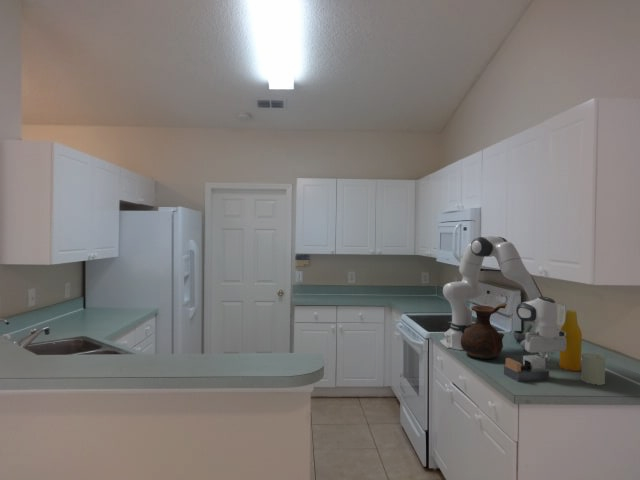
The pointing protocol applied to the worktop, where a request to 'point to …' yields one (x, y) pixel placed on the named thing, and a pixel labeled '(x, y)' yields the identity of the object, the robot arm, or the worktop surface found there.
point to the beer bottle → (571, 343)
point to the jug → (483, 334)
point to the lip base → (523, 371)
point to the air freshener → (524, 341)
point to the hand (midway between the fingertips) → (545, 360)
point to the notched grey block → (534, 362)
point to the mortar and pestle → (521, 334)
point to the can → (593, 369)
